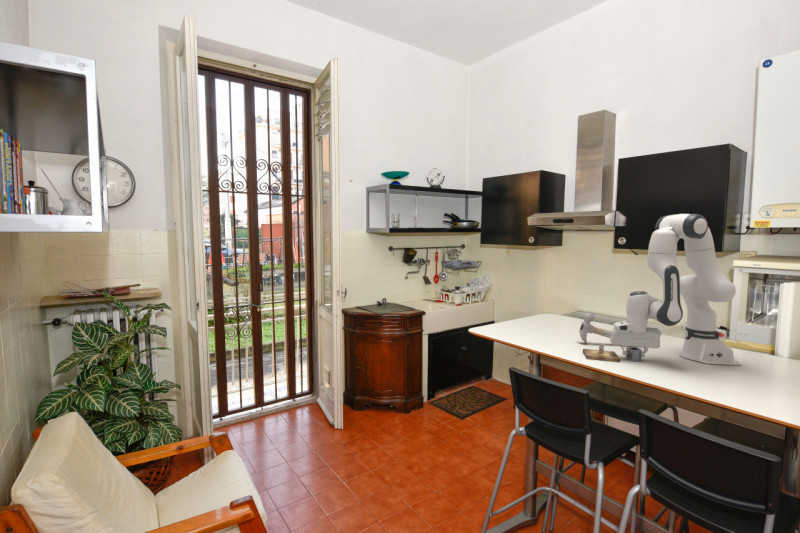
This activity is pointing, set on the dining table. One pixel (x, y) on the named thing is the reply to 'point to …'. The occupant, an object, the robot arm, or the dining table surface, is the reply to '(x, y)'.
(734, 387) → the dining table surface
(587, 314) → the hammer
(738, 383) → the dining table surface
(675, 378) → the dining table surface
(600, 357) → the post board
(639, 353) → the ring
